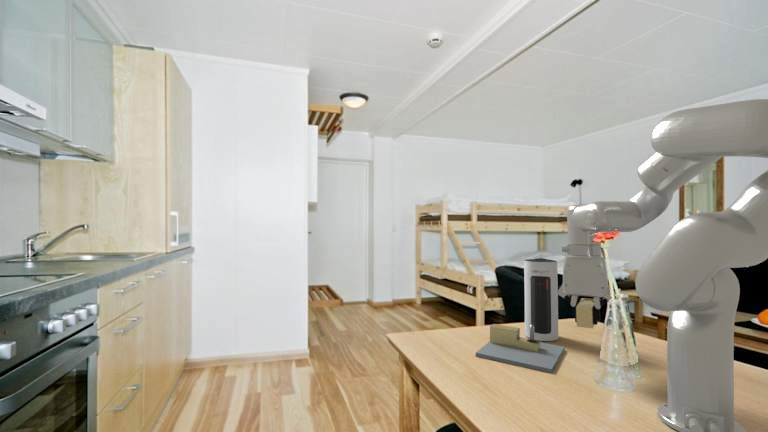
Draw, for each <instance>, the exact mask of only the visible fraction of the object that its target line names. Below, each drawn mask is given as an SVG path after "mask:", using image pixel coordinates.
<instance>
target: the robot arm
mask: <svg viewBox="0 0 768 432" xmlns="http://www.w3.org/2000/svg"><path fill="white" fill-rule="evenodd" d="M650 144H651V147H652V149H653V150H654V152H652V154H650V155H649V156H648V157H647V158H646V159H644V160H643V161H642V162H641V163H639V164H638V167H637V171H636V172H637V177H638V178H639V180H640V182H641V183H642V184H643V185H644V187H643V188H642V189H641V190H640V191H639V192H638V193H636V194H635V195H634V196H633V197H631V198H630V199H629V200H627V201H616V200H615V201H614V200H610V201H609V200H608V201H607V200H606V201H605V200H604V201H603V200H600V201H593V202H590V203H586V204H583V203H581V204H572V205H569V206H568V208H567V209H566V211H567V212H566V218H567V219H566V222H567V223H566V225H567V245H566V246H562V247H561V252H563V253H566V254H567V255H568V256H567V255H566V256H564V260H563V265H562V266H563V268H562V270H563V271H562V283H561V285H560V287H558V288H559V289H558V291H557V294H558V297H559V296H560V297H562V298H563V299H564V300H565V301H566V302H567V303H569V305H570V306H571V309H572V310H571V311H572V313H571V314H572V315H571V316H572V319H574V322H575V323H577V320H576V306H577V305H578V304H579V302H578V300H579V296H580V297H591V298H592V299H594V303H595V305H594V309H593V320H594V326H597V325H598V322H601V308H602V307H603V306H605V305H606V304H607V302H608V303H610V302H609V300H610V299H611V298H612V297H610V288H611V287H610V285H609V278H608V277H609V276H608V271H607V263H606V260H605V257H603V256H602V244H601V243H602V242H601V243H599V242H595V241H593V239H594V238H595V236H597V235H595V234H594V233H598V232H600V233H631V232H634V231H638V230H640V229H641V228H643V227H646V226H647V225H649V224H650V223H651V222H653V221H654V220H656V219H657V218H658V217H660V216H661V215H662V214H663V213H664V212H665V211H666V210H667V209H668V207H669V206H670V204H671V202H672V200H673V198H674V197H673V196H674V194H675V193H676V191H678V190H679V189H681V188H682V187H684V185H686V184H687V183H688V182H690V181H691V180H693V179H694V178H695V177H697V176H698V175H699V174H701V173H702V172H703V171H705V170H706V169H708V168H710V167H711V166H712V165H713V164H715V163H716V162H718V161H719V160H720V159H721V158H723V157H724V158H725V157H744V158H745V157H747V158H748V157H749V158H762V159H763V158H764V159H768V98H767V99H766V98H760V99H759V98H757V99H746V100H740V101H739V100H737V101H733V102H727V103H726V102H725V103H720V104H714V105H713V104H712V105H707V106H700V107H698V106H697V107H692V108H686V109H681V110H677V111H674V112H672V113H670V114H667V115H666V116H665V117H663V118H662V119H660V120H659V122H658V123H657V124H656V125H655V126H654V128H653V129H652V132H651V135H650ZM609 229H610V230H609ZM615 229H617V230H615ZM616 231H617V232H616ZM618 231H619V232H618ZM592 234H594V236H593V235H592ZM590 235H591V236H590ZM588 236H589V237H588ZM584 241H585V242H584ZM592 241H593V242H592ZM594 244H595V245H596V246H595V245H594ZM766 260H768V169H767V170H766V171H764V172H763V173H761V174H760V175H759V176H757V177H756V178H755V179H754V180H753V181H751V182H750V183H749V184H747V186H746V187H745V188H744V190H742V192H741V194H739V195H738V197H737V198H736V199H735V200H734V201H733V202H732V203H731V204H730V205H729V206H728V207H726V209H724V210H720V211H703V212H696V213H693V214H690V215H687V216H685V217H684V218H682V219H681V220H679V221H678V222H676V223H675V224H673V226H672V227H670V228H669V230H668V231H667V232H666V233H665V235H664V236H663V238H661V240H660V241H659V242H658V243H657V245H656V246H655V248H654V249H653V250H652V251H651V253H650V254H649V255H648V256H647V257H646V259H645V260H644V261H643V263H642V264H641V265H640V267H639V269H638V270H637V273H636V275H635V284H634V285H635V290H636V293H637V296H638V297H639V299H640V300H641V301H642V302H643V304H645V305H647V306H648V307H650V308H652V309H654V310H656V311H660V312H669V313H670V314H669V317H668V321H667V330H666V332H667V334H666V338H667V339H666V349H667V351H666V352H667V353H666V354H667V355H666V357H667V361H666V362H667V363H666V366H667V367H666V369H667V371H666V372H667V373H666V374H667V382H666V383H667V403H666V402H665V403H662V404H660V405H659V406H658V408H657V416H658V417H659V419H660V420H661V421H662V422H664V423H665V424H666V425H667V426H669V427H671V429H674V430H676V431H678V432H747V431H746V429H745V428H744V426H742V425H741V424H740V423H739V422H737V421H736V420H735V385H734V384H735V380H734V379H735V378H734V377H735V376H734V375H735V372H734V371H735V369H734V368H735V367H734V366H735V365H734V363H735V362H734V361H735V358H734V357H735V356H734V353H735V352H734V351H735V345H734V344H735V342H734V341H735V340H734V339H735V337H734V336H735V321H736V320H735V319H736V315H737V308H738V305H739V301H740V294H741V292H740V291H741V290H740V289H741V288H740V282H739V279H738V277H737V276H736V274H735V272H734V271H733V270H732V268H733V269H736V268H737V269H738V268H746V267H747V268H748V267H752V266H753V267H754V266H757V265H759V264H760V263H763V262H765V261H766ZM601 298H602V299H601Z"/></svg>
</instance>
